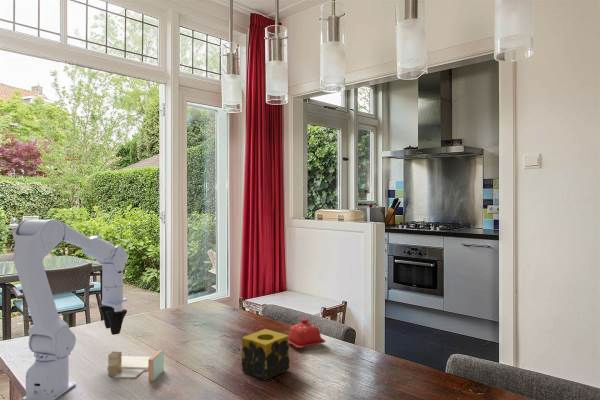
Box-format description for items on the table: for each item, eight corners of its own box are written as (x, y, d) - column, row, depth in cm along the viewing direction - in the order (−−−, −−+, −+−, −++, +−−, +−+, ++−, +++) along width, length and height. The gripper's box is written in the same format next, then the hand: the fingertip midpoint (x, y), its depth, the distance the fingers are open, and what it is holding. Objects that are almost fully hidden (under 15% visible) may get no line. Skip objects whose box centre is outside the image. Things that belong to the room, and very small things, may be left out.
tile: (153, 381, 112) (153, 359, 112) (148, 381, 112) (148, 359, 112) (163, 371, 119) (163, 350, 119) (159, 370, 119) (159, 350, 119)
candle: (265, 361, 126) (265, 328, 126) (290, 369, 120) (290, 334, 120) (240, 371, 118) (240, 336, 118) (266, 381, 112) (265, 344, 112)
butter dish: (282, 341, 145) (282, 316, 145) (311, 335, 150) (311, 312, 150) (297, 351, 134) (297, 325, 134) (327, 345, 140) (327, 320, 140)
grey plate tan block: (135, 379, 113) (135, 357, 113) (105, 378, 114) (105, 356, 114) (143, 371, 118) (143, 350, 118) (115, 370, 119) (115, 349, 119)
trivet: (147, 370, 119) (147, 367, 119) (107, 369, 120) (107, 366, 120) (158, 360, 127) (158, 357, 127) (121, 359, 128) (121, 356, 128)
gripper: (133, 287, 121) (133, 334, 121) (120, 280, 133) (120, 323, 133) (107, 290, 117) (107, 339, 117) (96, 283, 128) (96, 326, 128)
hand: (112, 330), depth 124 cm, fingers open, 7 cm apart
